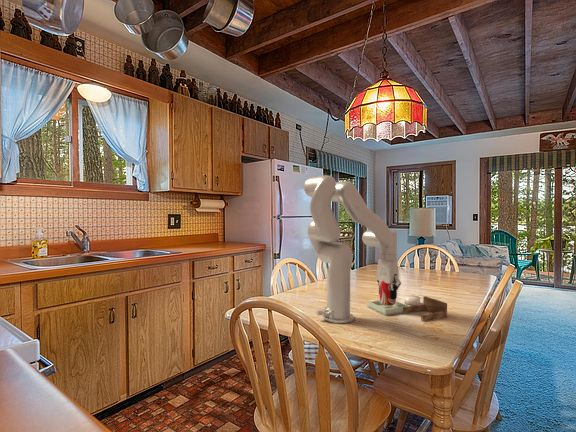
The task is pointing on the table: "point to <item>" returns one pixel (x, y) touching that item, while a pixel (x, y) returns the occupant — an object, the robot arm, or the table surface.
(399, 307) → the tray
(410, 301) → the cream rounded knob
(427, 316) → the cradle
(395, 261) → the robot arm
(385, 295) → the soda can
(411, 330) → the table surface
